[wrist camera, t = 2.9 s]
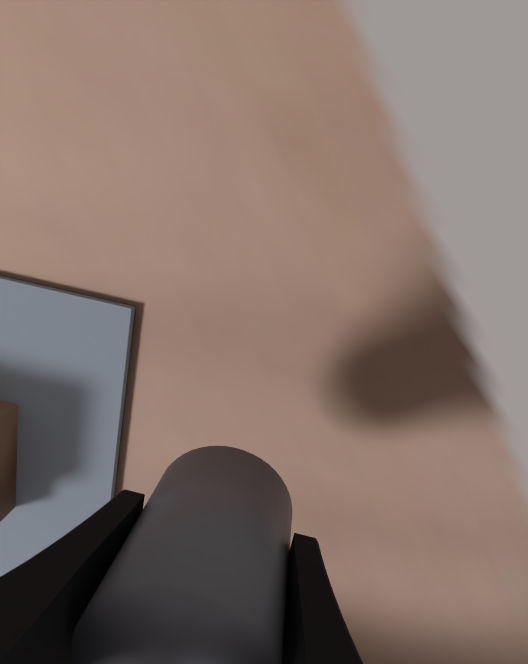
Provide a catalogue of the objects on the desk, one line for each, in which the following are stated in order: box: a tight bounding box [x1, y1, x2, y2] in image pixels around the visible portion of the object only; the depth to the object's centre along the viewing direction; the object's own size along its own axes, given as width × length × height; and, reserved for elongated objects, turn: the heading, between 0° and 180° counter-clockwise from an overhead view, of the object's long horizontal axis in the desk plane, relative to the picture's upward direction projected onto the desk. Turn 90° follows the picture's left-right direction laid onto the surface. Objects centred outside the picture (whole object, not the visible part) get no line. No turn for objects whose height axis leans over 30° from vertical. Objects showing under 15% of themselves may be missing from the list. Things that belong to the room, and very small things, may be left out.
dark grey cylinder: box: [71, 446, 292, 664], centre depth 11 cm, size 4×4×5 cm
